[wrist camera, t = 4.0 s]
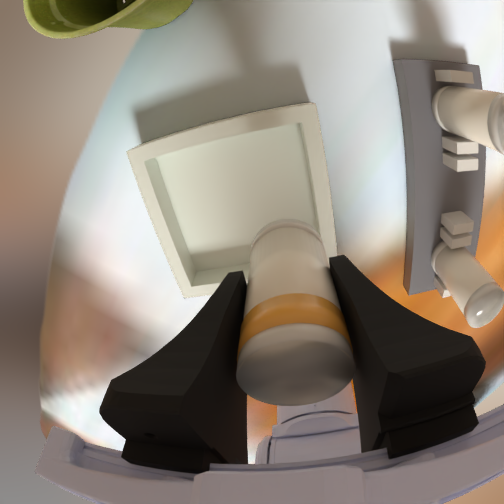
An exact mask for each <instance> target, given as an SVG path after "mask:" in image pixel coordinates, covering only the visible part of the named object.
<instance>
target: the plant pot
mask: <svg viewBox="0 0 504 504" xmlns="http://www.w3.org/2000/svg"><path fill="white" fill-rule="evenodd" d="M23 1H24V12H25V15H26V18H27V20H28V22H29V24H30V25H31V26H32V27H33V29H35V30H36V31H37V32H39V33H40V34H42V35H45V36H47V37H51V38H58V39H61V38H62V39H65V38H75V37H80V36H84V35H88V34H91V33H94V32H97V31H99V30H101V29H104V28H106V27H123V28H124V27H125V28H135V29H152V28H157V27H161V26H163V25H166V24H168V23H170V22H171V21H172V20H174V19H175V18H176V17H178V16H179V15H181V14H182V13H183V12H185V11H186V10H187V9H188V8H189V6H190V5H191V4H192V2H193V0H125V3H123V0H23Z"/></svg>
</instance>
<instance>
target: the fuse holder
mask: <svg viewBox="0 0 504 504" xmlns="http://www.w3.org/2000/svg"><path fill="white" fill-rule="evenodd" d="M393 64H394V69H395V75H396V80H397V86H398V92H399V99H400V106H401V114H402V122H403V132H404V143H405V156H406V175H407V238H406V257H405V271H404V282H403V286H404V288H405V289H406V291H407V293H408V295H413V294H417V293H422V292H426V291H430V290H434V289H437V290H438V292H439V293H440V295H441V296H442V298H444V297H448V296H451V294H450V293H449V291H448V290H447V288H446V287H445V285H444V284H443V282H442V281H441V279H440V278H439V276H438V275H437V274H436V273H435V271H434V270H433V268H432V267H431V263H430V258H431V254H432V252H433V250H434V248H435V247H436V246H437V245H438V244H439V243H440V242H441V241H442V240H444V242H445V243H446V244H447V245H448V246H449V247H450V248H451V249H455V248H459V247H464V246H465V247H466V248H467V249H468V250H469V252H470V253H471V254H472V255H473V256H474V257H475V255H476V249H477V244H478V238H479V231H480V224H481V217H482V208H483V198H484V185H485V164H486V146H484V145H482V144H479V143H477V142H474V141H472V140H469V139H467V138H464V137H461V136H459V135H456V134H453V133H450V132H447V131H445V130H443V129H442V128H440V127H439V125H438V124H437V123H436V121H435V119H434V117H433V114H432V109H431V103H432V98H433V95H434V93H435V92H436V90H437V89H438V88H440V87H442V86H446V85H449V86H457V87H465V88H473V89H481V90H482V82H481V75H480V68H479V66H478V65H472V64H464V63H456V62H447V61H435V60H418V59H399V60H393Z"/></svg>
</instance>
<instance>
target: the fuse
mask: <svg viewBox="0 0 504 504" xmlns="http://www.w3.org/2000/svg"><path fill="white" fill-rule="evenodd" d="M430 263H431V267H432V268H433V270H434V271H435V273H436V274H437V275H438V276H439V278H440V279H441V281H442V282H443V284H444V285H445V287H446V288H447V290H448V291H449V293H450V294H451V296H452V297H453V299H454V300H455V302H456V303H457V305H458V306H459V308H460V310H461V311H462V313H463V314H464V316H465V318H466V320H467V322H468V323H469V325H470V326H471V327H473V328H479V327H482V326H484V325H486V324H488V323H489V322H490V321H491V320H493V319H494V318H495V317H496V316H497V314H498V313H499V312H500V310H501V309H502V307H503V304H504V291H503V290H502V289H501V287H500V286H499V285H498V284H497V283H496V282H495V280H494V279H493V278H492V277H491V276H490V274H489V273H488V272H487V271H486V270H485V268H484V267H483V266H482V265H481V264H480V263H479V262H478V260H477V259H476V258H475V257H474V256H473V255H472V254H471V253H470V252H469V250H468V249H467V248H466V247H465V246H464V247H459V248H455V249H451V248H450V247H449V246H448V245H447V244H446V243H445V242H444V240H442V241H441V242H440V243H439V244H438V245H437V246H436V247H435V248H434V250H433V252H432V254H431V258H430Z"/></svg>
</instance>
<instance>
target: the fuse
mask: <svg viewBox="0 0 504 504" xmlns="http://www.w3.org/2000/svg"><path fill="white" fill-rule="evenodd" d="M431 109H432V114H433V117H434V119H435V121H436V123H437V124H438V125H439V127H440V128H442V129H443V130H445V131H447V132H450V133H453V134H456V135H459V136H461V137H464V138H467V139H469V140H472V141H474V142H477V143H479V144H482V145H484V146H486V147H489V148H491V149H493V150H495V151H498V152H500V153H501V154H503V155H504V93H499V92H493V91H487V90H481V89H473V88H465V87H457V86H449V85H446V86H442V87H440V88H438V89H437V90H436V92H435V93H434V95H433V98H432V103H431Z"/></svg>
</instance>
